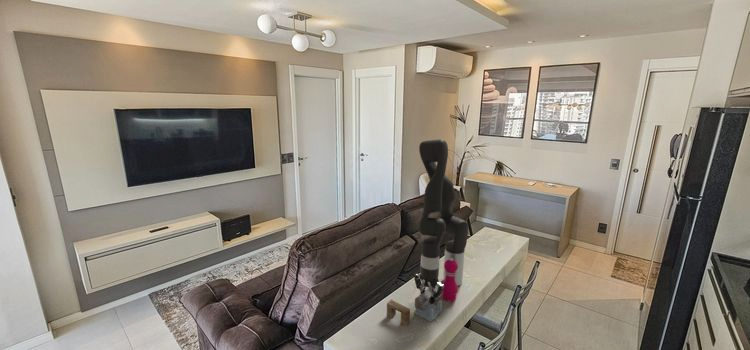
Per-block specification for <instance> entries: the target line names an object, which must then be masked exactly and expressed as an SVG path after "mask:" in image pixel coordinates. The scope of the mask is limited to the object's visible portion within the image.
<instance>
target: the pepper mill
mask: <svg viewBox="0 0 750 350" xmlns="http://www.w3.org/2000/svg"><path fill="white" fill-rule="evenodd" d="M444 268H445V274H446V277H445V280H444V281H443V282H442V283H441V284H444V285H445V286H444V288H443V294H442V295H441V297H442V299H443V300H444V301H446V302H454V301H455V300H456V299H457V293H458V291H459V290H458V286H457V285H456V282H455V275H456V270H457V269H458V264H457V262H456V261H454V260H453V258H452V257H450V258H449V260H447V261H446V262H445V263H444V262H443V269H444Z"/></svg>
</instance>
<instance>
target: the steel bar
mask: <svg viewBox="0 0 750 350" xmlns="http://www.w3.org/2000/svg"><path fill="white" fill-rule="evenodd" d="M437 290H438V285H436V292H437ZM442 294H443V291H442V293H441V295H440V296H438V297H437V298H436V301H438V300H439V299H440V297H442ZM430 302H431V292H430V290H429V288H428V287H427V289H425V291H424V292H423V293H422V294H420V293H419V295H418V296H416V297H415V298H414V309H415V308H417V309H419V310H421V311H424V310H425V309H426V308H428V307H429V306H430V305H431V304H430Z"/></svg>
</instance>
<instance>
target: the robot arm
mask: <svg viewBox="0 0 750 350" xmlns="http://www.w3.org/2000/svg"><path fill="white" fill-rule="evenodd" d="M418 150H419V155H420V159H421V161H422V164H423V166H424V170H425V171H426V172H427V173H426V174H427V175H428V179H429V180H428V181H429V182H428V183H427V185H426V186H425V189H424V197H423V198H424V199H423V202H424V203H423V211H422V214H421V217H420V220H419V223H418V226H417V227H418V232H419V233H420V235H423V236H430V237H429V238H425V239H424V240H423V241H422V243H421V256H420V268H419V269H420V271H419V272H417V273H416V274H414V275H413V278H414V281H415V286H416V289H417V290H419V291H420V293H419V295H420V294H422V293H423V292H424V291H425V290H426V288H427V289H428V288H429V290H430V292H431V302H430V304H433V305H435V303H436V301H437V300H436V298H437V297H438V296H440V295H441V293H442V291H443V288H444V286H445V285H444V284H442V283H441V282H440V281H439V272H440V249H441V242H442V239H443V237H444V234H447V235H448V236H451V237H452V238H453V240H448V241H446V242H445V244H444V245H445V246H444V261H443V264H444V263H445V262H446V261H447V260H449V258H450V257H452V258H453V260H454V261H456V262H457V264H458V269H457V270H456V275H455V282H456V285H457V287H459V286H461V285H462V284H463V276H464V265H465V264H464V263H465V250H466V246H467V241H468V234H469V224H468V222H467V221H466V220H464V219H463V218H459V217H457V216H455V214H454V212H453V205H454V203H455V201H456V190H455V186H454V184H453V182H452V180H451V179H450V178H449V176H447V175H446V169H447V163H448V158H449V146H448V143H447V141H446V140H445V139H442V138H439V139H429V140H424V141H421V142H420V143H419V149H418ZM436 163H437V164H436ZM433 213H439V216H440V218H438V217H437V218H436V217H429V215H430V214H433ZM442 275H443V276H442V277H443V278H442V281H443V282H444V280H445V277H446V274H445V268H444V267H443V274H442ZM436 285H438V290H437V292H436ZM441 296H442V295H441ZM441 296H440V297H441Z"/></svg>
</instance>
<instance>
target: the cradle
mask: <svg viewBox="0 0 750 350" xmlns="http://www.w3.org/2000/svg"><path fill="white" fill-rule="evenodd" d="M442 303H443V301H442V300H441V299H438V300H437V305H435V304H431V305H430V306H429V307H428V308H426V309H425V310H424V311H421V310H419V309H417V308H415V307H414V309H415V310H414V311H413V312H414V314H415V315H418V316H419V317H421V318H422V319H423V318H424V319H425V320H427V321H429V322H432V321H433V320H434V319H435V318H436V317H437V316H438V315H439V314H440V313H441V312H442V310H443V308H442Z"/></svg>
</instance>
